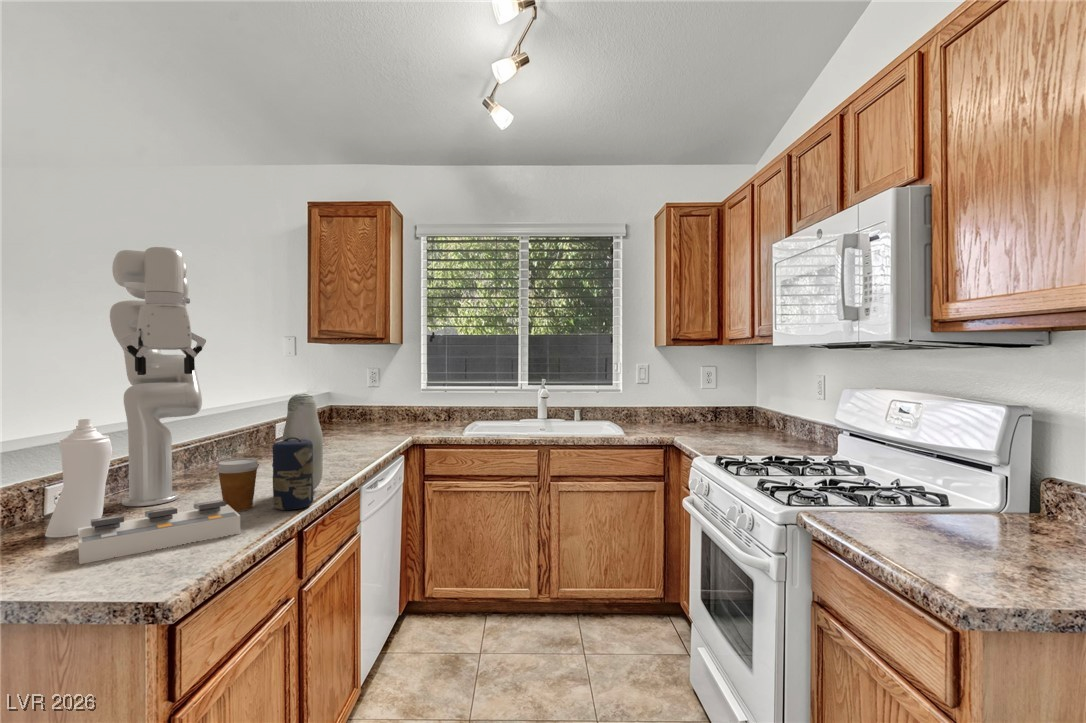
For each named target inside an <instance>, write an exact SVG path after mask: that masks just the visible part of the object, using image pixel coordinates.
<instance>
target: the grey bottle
mask: <svg viewBox="0 0 1086 723" xmlns="http://www.w3.org/2000/svg"><path fill="white" fill-rule="evenodd" d="M286 414H287V415H286V420H285V424H284V428H283V433H282V441H284V440H285V439H287V438H290V437H295V438H298V439H306V440H310V441H312V443H313V491H315V489H317V487H319V485H320V483H321V481H322V478H323V470H324V469H323V467H324V466H323V461H324V458H323V457H324V456H323V454H324V452H323V451H324V444H323V443H324V441H323V440H324V438H323V436H324V435H323V430H322V426H321V424H320V421H319V420H320V419H319V416H318V415H319V414H318V411H317V402H316V399H315V397H313V395H311V394H309V393H308V394H307V393H300V394H299V393H298V394H295V395H292V396H291V397H290V398H289V399H288V402H287V413H286ZM289 440H297V439H289Z"/></svg>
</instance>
